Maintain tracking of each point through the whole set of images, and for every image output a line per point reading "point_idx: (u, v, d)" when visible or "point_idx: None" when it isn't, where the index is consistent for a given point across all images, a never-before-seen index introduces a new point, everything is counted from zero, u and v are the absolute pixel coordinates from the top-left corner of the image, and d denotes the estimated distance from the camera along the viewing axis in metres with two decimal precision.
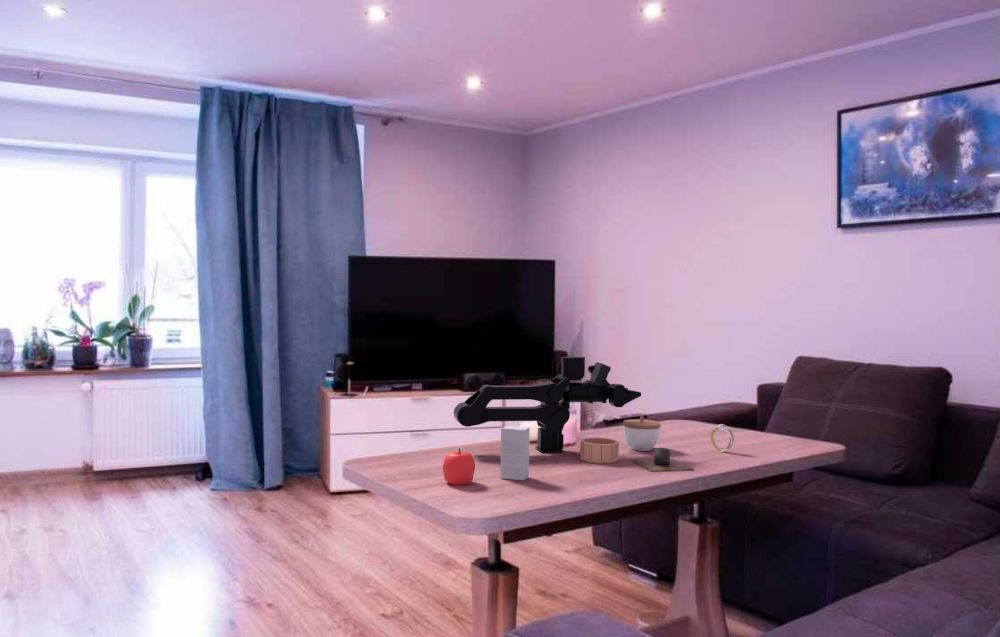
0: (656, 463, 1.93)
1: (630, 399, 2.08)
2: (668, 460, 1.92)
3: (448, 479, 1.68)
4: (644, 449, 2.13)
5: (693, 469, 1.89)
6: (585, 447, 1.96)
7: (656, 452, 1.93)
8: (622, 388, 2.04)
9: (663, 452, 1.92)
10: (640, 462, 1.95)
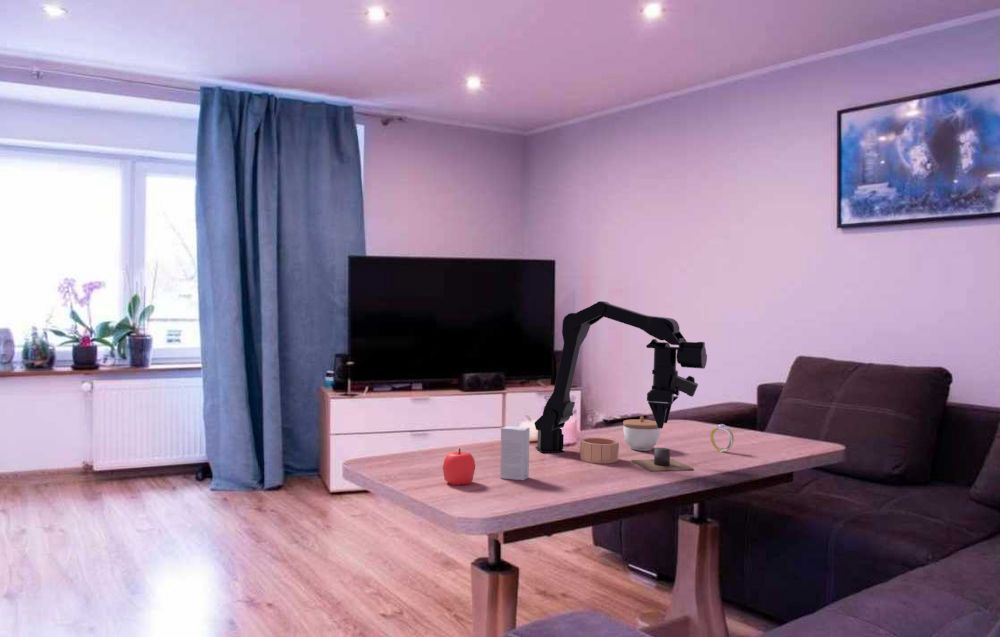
0: (656, 463, 1.93)
1: (654, 414, 1.88)
2: (668, 460, 1.92)
3: (448, 479, 1.68)
4: (644, 449, 2.13)
5: (693, 469, 1.89)
6: (585, 447, 1.96)
7: (656, 452, 1.93)
8: (667, 401, 1.84)
9: (663, 452, 1.92)
10: (640, 462, 1.95)
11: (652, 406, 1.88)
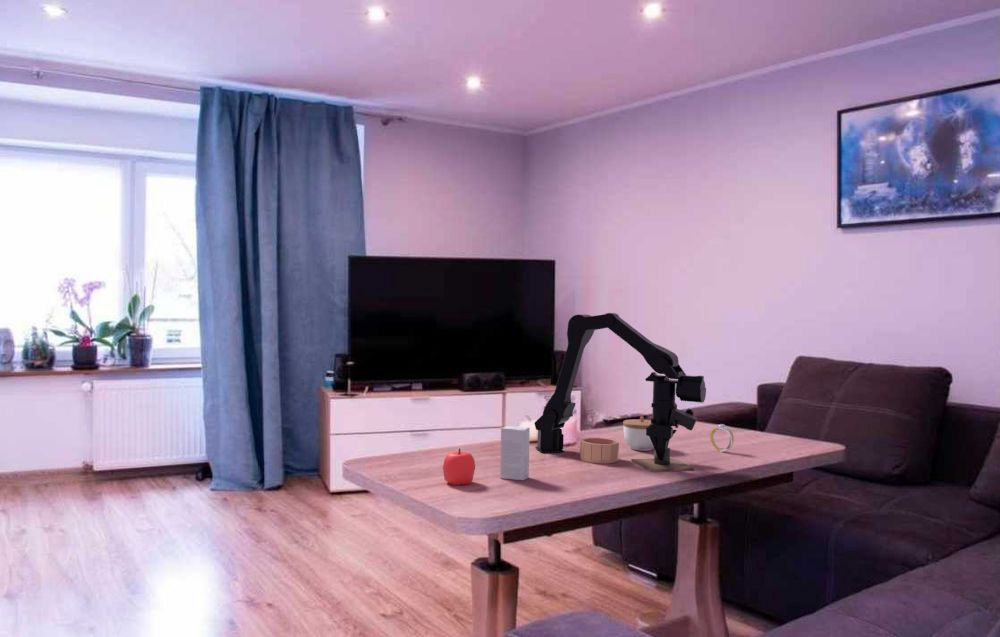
0: (656, 462, 1.93)
1: (655, 446, 1.91)
2: (668, 459, 1.92)
3: (448, 479, 1.68)
4: (644, 449, 2.13)
5: (693, 468, 1.89)
6: (585, 447, 1.96)
7: None
8: (667, 436, 1.84)
9: None
10: (640, 461, 1.95)
11: (653, 439, 1.90)
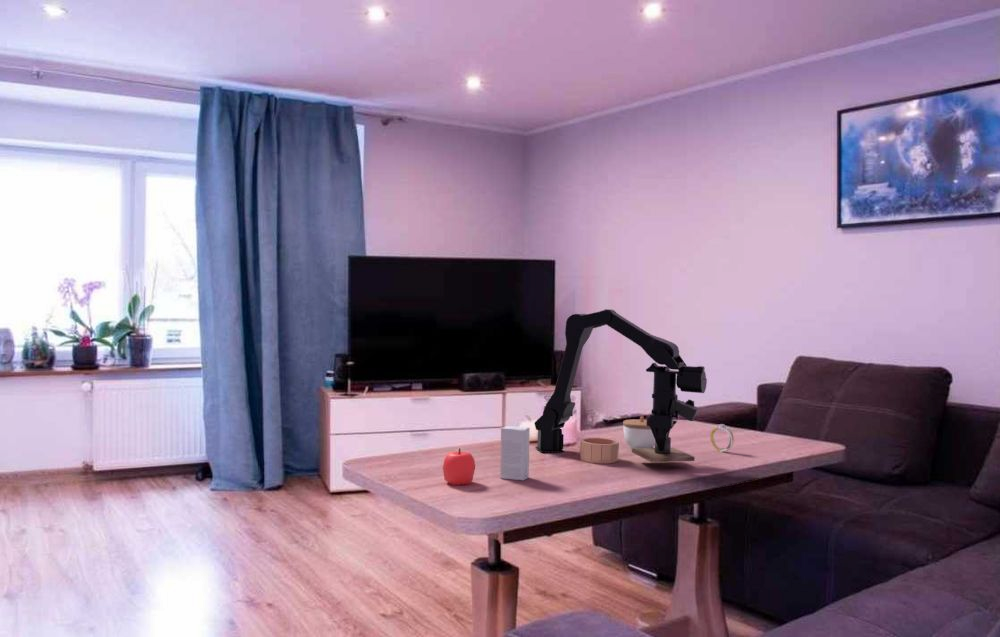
0: (657, 451, 1.93)
1: (656, 437, 1.91)
2: (669, 448, 1.92)
3: (448, 479, 1.68)
4: None
5: (694, 457, 1.89)
6: (585, 447, 1.96)
7: None
8: (667, 426, 1.84)
9: None
10: (641, 450, 1.95)
11: (653, 429, 1.90)
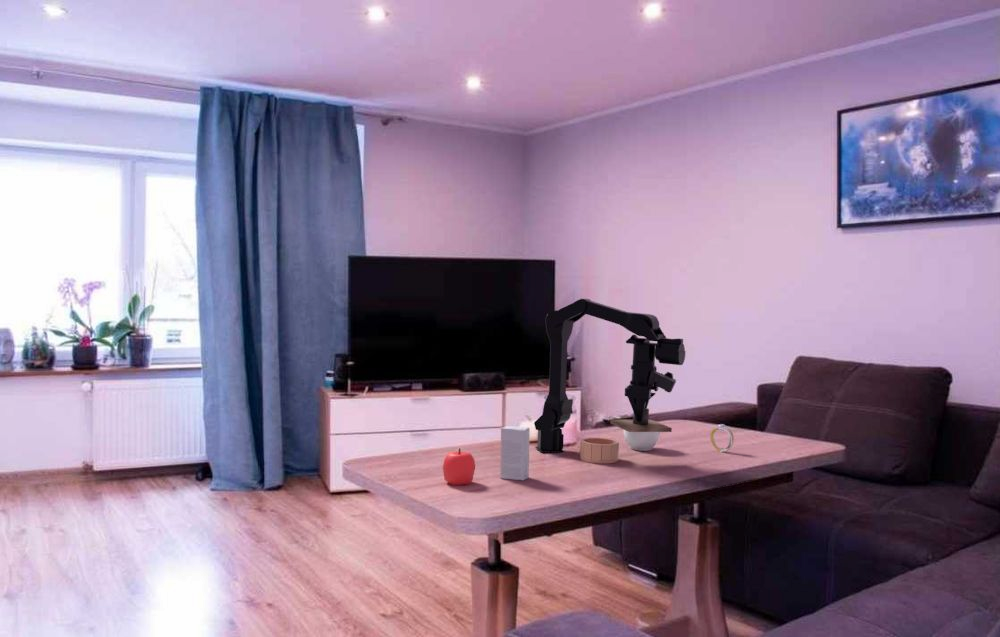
0: (635, 422, 1.94)
1: (634, 407, 1.93)
2: (647, 419, 1.94)
3: (448, 479, 1.68)
4: (644, 449, 2.13)
5: (671, 428, 1.91)
6: (585, 447, 1.96)
7: None
8: (645, 396, 1.86)
9: None
10: (619, 421, 1.97)
11: (631, 400, 1.92)
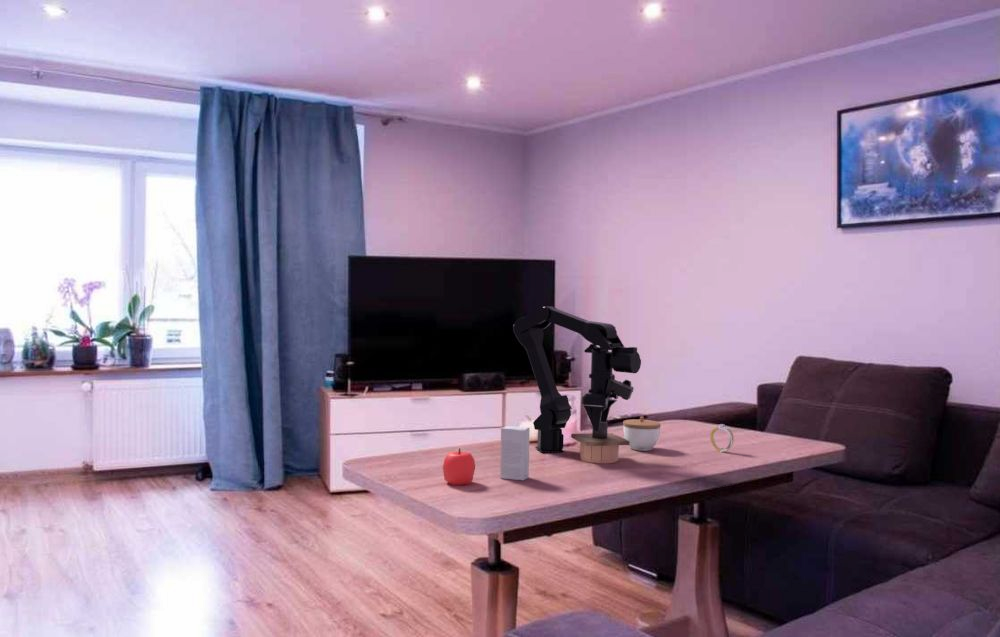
0: (594, 436, 1.98)
1: (590, 417, 1.94)
2: (605, 433, 1.98)
3: (448, 479, 1.68)
4: (644, 449, 2.13)
5: None
6: (585, 447, 1.96)
7: None
8: (601, 404, 1.89)
9: (600, 425, 1.97)
10: (579, 435, 2.01)
11: (588, 409, 1.93)
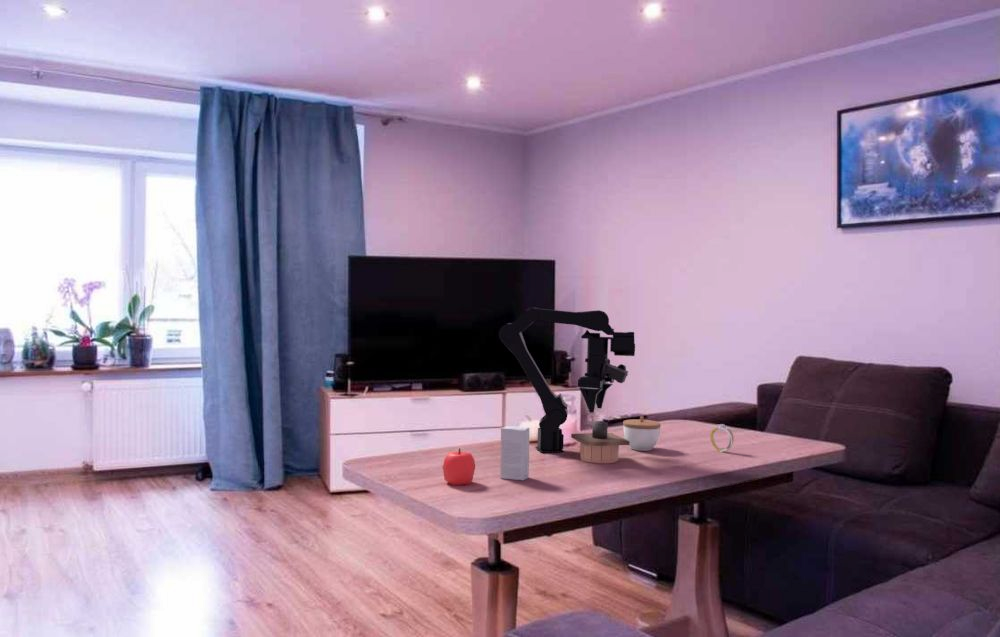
0: (594, 436, 1.98)
1: (586, 399, 2.03)
2: (605, 433, 1.98)
3: (448, 479, 1.68)
4: (644, 449, 2.13)
5: None
6: (585, 447, 1.96)
7: (594, 425, 1.98)
8: (596, 386, 1.98)
9: (600, 425, 1.97)
10: (579, 435, 2.01)
11: (583, 392, 2.02)
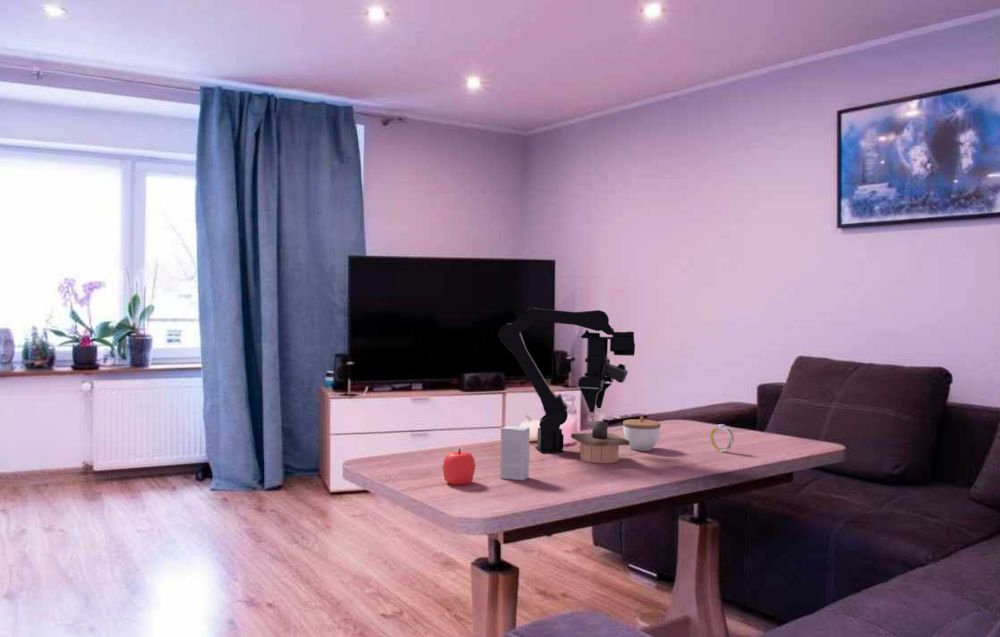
0: (594, 436, 1.98)
1: (586, 399, 2.03)
2: (605, 433, 1.98)
3: (448, 479, 1.68)
4: (644, 449, 2.13)
5: None
6: (585, 447, 1.96)
7: (594, 425, 1.98)
8: (597, 386, 1.98)
9: (600, 425, 1.97)
10: (579, 435, 2.01)
11: (584, 392, 2.03)
